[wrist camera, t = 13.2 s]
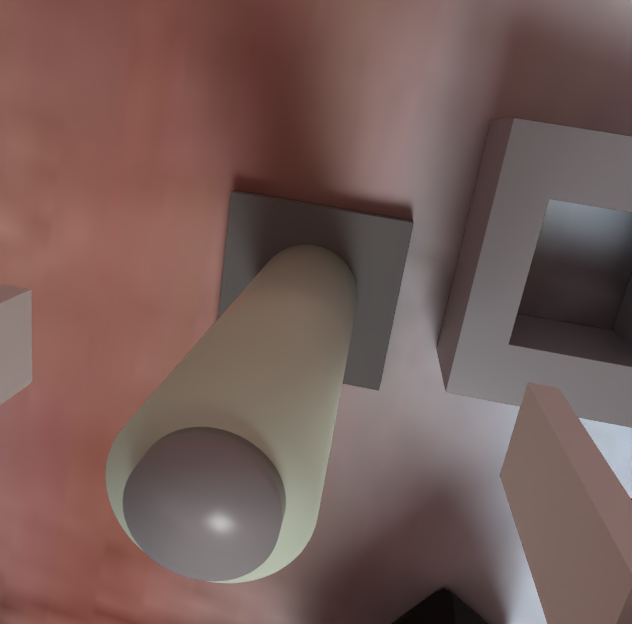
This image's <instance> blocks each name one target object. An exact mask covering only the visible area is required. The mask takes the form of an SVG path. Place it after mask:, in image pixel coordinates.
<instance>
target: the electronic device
mask: <svg viewBox="0 0 632 624" xmlns="http://www.w3.org/2000/svg"><path fill="white" fill-rule="evenodd" d="M392 624H488V623H487V622H486V621H485V620H484V619H482V618H481V617H480V616H479V615H478V614H477V613H475V612H474V611H473V610H472V609H471V608H470V607H469V606H467V605H466V604H465V603H464V602H463V601H462V600H460V599H459V598H458V597H457V596H456V595H455V594H453V593H452V592H451V591H450V590H448V589H444V588H443V589H440V590H438V591H436V592H434V593H433V594H432V595H430V596H429V597H428V598H426V599H425V600H423V601H422V602H421V603H419V604H418V605H417V606H415V607H414V608H412V609H411V610H410V611H408V612H407V613H406V614H404V615H403V616H401V617H400V618H399V619H397V620H396V621H395V622H393V623H392Z"/></svg>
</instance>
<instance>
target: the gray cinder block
mask: <svg viewBox="0 0 632 624" xmlns="http://www.w3.org/2000/svg"><path fill="white" fill-rule="evenodd" d="M549 199H553V200H559V201H565V202H571V203H577V204H584V205H590V206H596V207H602V208H608V209H614V210H620V211H626V212H632V136H626V135H620V134H613V133H607V132H600V131H594V130H588V129H581V128H575V127H569V126H562V125H556V124H550V123H543V122H537V121H530V120H524V119H518V118H507V119H494V120H491V122H490V127H489V131H488V135H487V139H486V143H485V148H484V152H483V156H482V160H481V165H480V169H479V173H478V177H477V181H476V186H475V190H474V194H473V198H472V202H471V207H470V211H469V215H468V219H467V223H466V228H465V232H464V236H463V240H462V245H461V249H460V253H459V257H458V261H457V266H456V270H455V274H454V278H453V282H452V287H451V291H450V295H449V299H448V304H447V308H446V312H445V316H444V320H443V325H442V329H441V333H440V337H439V341H438V346H437V354H438V358H439V363H440V368H441V372H442V377H443V382H444V386H445V391H446V392H447V393H452V394H458V395H463V396H468V397H473V398H479V399H484V400H489V401H495V402H500V403H505V404H510V405H516V406H521V403H522V400H523V396H524V393H525V390H526V386H527V383H528V382H529V383H535V384H540V385H546V386H551V387H556V388H559V389H560V391H561V392H562V394H563V396H564V397H565V399H566V400H567V402H568V403H569V405H570V406H571V408H572V409H573V411H574V412H575V414H576V415H577V417H579V418H584V419H589V420H594V421H600V422H605V423H610V424H616V425H621V426H626V427H631V428H632V273H631V276H630V279H629V282H628V285H627V288H626V291H625V294H624V297H623V300H622V303H621V305H620V308H619V311H618V314H617V317H616V320H615V323H614V326H613V329H612V330H606V329H601V328H595V327H590V326H584V325H578V324H573V323H567V322H562V321H556V320H551V319H545V318H539V317H534V316H528V315H523V314H517V312H518V309H519V305H520V302H521V298H522V294H523V291H524V287H525V284H526V280H527V277H528V273H529V269H530V266H531V262H532V259H533V255H534V252H535V248H536V244H537V241H538V237H539V234H540V230H541V227H542V223H543V219H544V216H545V212H546V209H547V205H548V202H549Z"/></svg>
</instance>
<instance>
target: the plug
mask: <svg viewBox="0 0 632 624" xmlns="http://www.w3.org/2000/svg"><path fill="white" fill-rule="evenodd" d="M357 300H358V289H357V284H356V280H355V277H354V275H353V273H352V271H351V269H350V268H349V266H348V265H347V264H346V263H345V261H344V260H343V259H341V258H340V257H339V256H338V255H337V254H335V253H334V252H332V251H330V250H328V249H326V248H323V247H320V246H316V245H308V244H307V245H296V246H292V247H289V248H286V249H284V250H282V251H280V252H279V253H277V254H276V255H275V256H273V257H272V258H271V259H270V260H269V262H268V263H267V264H266V265H265V266H264V267H263V268H262V270H261V271H260V272H259V273H258V274H257V275H256V276H255V278H254V279H253V280H252V281H251V282H250V283H249V284H248V286H247V287H246V288H245V289H244V290H243V291H242V292H241V294H240V295H239V296H238V297H237V298H236V299H235V300H234V301H233V303H232V304H231V305H230V306H229V307H228V308H227V309H226V311H225V312H224V313H223V314H222V315H221V316H220V317H219V319H218V320H217V321H216V322H215V323H214V324H213V325H212V327H211V328H210V329H209V330H208V331H207V332H206V333H205V335H204V336H203V337H202V338H201V339H200V340H199V341H198V343H197V344H196V345H195V346H194V347H193V348H192V349H191V351H190V352H189V353H188V354H187V355H186V356H185V357H184V359H183V360H182V361H181V362H180V363H179V364H178V365H177V367H176V368H175V369H174V370H173V371H172V372H171V373H170V375H169V376H168V377H167V378H166V379H165V380H164V381H163V383H162V384H161V385H160V386H159V387H158V388H157V389H156V391H155V392H154V393H153V394H152V395H151V396H150V397H149V398H148V400H147V401H146V402H145V403H144V404H143V405H142V406H141V408H140V409H139V410H138V411H137V412H136V413H135V414H134V416H133V417H132V418H131V419H130V420H129V421H128V422H127V424H126V425H125V426H124V427H123V428H122V429H121V431H120V432H119V434H118V435H117V437H116V438H115V440H114V442H113V445H112V447H111V449H110V452H109V456H108V460H107V465H106V487H107V492H108V497H109V501H110V504H111V506H112V509H113V512H114V514H115V516H116V518H117V520H118V522H119V523H120V525H121V526H122V528H123V529H124V531H125V532H126V533H127V535H128V536H129V537H130V538H131V539H132V541H133V542H134V543H135V544H136V545H137V546H138V547H139V548H140V549H141V550H142V551H144V552H145V553H146V554H147V555H148V556H149V557H150V558H151V559H153V560H154V561H155V562H156V563H158V564H159V565H161V566H163V567H164V568H166V569H168V570H170V571H172V572H174V573H176V574H178V575H181V576H184V577H187V578H191V579H194V580H201V581H209V582H215V583H240V582H247V581H252V580H256V579H260V578H263V577H266V576H268V575H271V574H273V573H275V572H277V571H279V570H280V569H282V568H284V567H285V566H287V565H288V564H289V563H290V562H292V561H293V560H294V559H295V558H296V557H297V556H298V555H299V554H300V553H301V552H302V550H303V549H304V548H305V546H306V545H307V543H308V542H309V540H310V539H311V536H312V534H313V532H314V529H315V526H316V522H317V518H318V514H319V508H320V503H321V497H322V492H323V487H324V481H325V476H326V470H327V465H328V459H329V454H330V448H331V443H332V437H333V432H334V427H335V421H336V416H337V410H338V405H339V399H340V394H341V388H342V383H343V378H344V372H345V367H346V361H347V356H348V350H349V345H350V339H351V334H352V329H353V323H354V318H355V312H356V307H357Z"/></svg>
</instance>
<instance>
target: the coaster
mask: <svg viewBox="0 0 632 624" xmlns="http://www.w3.org/2000/svg"><path fill="white" fill-rule="evenodd" d="M412 228H413V220H408V219H402V218H396V217H390V216H384V215H378V214H372V213H367V212H361V211H355V210H349V209H343V208H337V207H331V206H326V205H320V204H314V203H308V202H302V201H296V200H290V199H285V198H279V197H273V196H267V195H261V194H255V193H249V192H244V191H238V190H234V191H232V192H231V198H230V208H229V218H228V228H227V237H226V247H225V257H224V267H223V276H222V286H221V296H220V306H219V315H218V319H219V317H220V316H221V315H222V314H223V313H224V312H225V311H226V309H227V308H228V307H229V306H230V305H231V304H232V303H233V301H234V300H235V299H236V298H237V297H238V296H239V295H240V294H241V292H242V291H243V290H244V289H245V288H246V287H247V286H248V284H249V283H250V282H251V281H252V280H253V279H254V278H255V276H256V275H257V274H258V273H259V272H260V271H261V270H262V268H263V267H264V266H265V265H266V264H267V263H268V262H269V260H270V259H271V258H272V257H273V256H275V255H276V254H277V253H279V252H280V251H282V250H284V249H286V248H289V247H292V246H296V245H307V244H308V245H316V246H320V247H323V248H326V249H328V250H330V251H332V252H334V253H335V254H337V255H338V256H339V257H340V258H341V259H343V260H344V261H345V263H346V264H347V265H348V266H349V268H350V269H351V271H352V273H353V275H354V277H355V280H356V284H357V289H358V300H357V307H356V312H355V318H354V323H353V329H352V334H351V339H350V345H349V350H348V356H347V361H346V367H345V372H344V378H343V384H348V385H354V386H359V387H364V388H369V389H375V390H379V387H380V382H381V377H382V373H383V368H384V363H385V358H386V353H387V349H388V344H389V339H390V334H391V329H392V324H393V320H394V315H395V310H396V305H397V300H398V296H399V291H400V286H401V281H402V276H403V271H404V267H405V262H406V257H407V252H408V247H409V243H410V238H411V233H412Z"/></svg>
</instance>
